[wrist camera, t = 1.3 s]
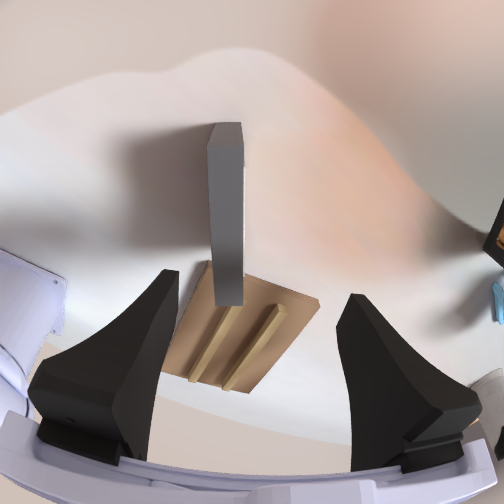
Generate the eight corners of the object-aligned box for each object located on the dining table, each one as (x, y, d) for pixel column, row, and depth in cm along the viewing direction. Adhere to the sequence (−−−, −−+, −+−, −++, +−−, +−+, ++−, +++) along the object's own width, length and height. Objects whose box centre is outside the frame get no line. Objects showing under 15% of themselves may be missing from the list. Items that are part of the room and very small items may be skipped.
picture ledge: (161, 363, 31) (158, 378, 29) (208, 260, 24) (207, 275, 23) (248, 386, 34) (249, 401, 32) (317, 299, 27) (322, 314, 25)
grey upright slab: (219, 244, 24) (215, 306, 18) (215, 122, 19) (206, 145, 13) (241, 243, 24) (245, 306, 18) (242, 122, 19) (246, 145, 13)
